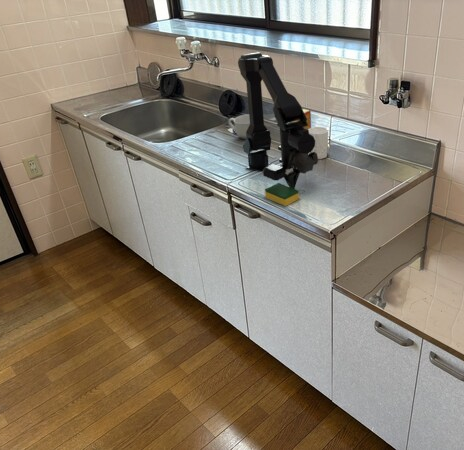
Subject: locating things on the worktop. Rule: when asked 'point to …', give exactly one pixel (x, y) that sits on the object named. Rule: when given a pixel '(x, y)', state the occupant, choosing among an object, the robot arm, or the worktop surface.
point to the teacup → (240, 125)
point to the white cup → (320, 141)
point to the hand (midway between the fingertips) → (292, 189)
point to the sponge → (282, 194)
